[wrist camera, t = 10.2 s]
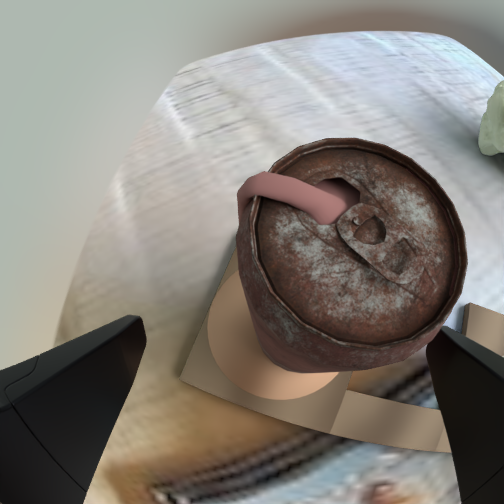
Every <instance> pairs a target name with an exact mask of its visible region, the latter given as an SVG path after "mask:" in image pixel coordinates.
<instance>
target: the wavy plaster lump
mask: <svg viewBox="0 0 504 504" xmlns="http://www.w3.org/2000/svg"><path fill="white" fill-rule="evenodd" d="M478 145H479V148H480V151H481V153H482V154H484V155H489V156H492V155H495V154H497V153H503V152H504V81H501V82H500V83H499V84H498V85H497V86H496V87H495V90H494V93H493V95H492V96H491V97H490V98H489V99H488V102H487V110H486V112H485V113H484V115H483V117H482V121H481V126H480V133H479V140H478Z"/></svg>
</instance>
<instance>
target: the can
mask: <svg viewBox="0 0 504 504" xmlns="http://www.w3.org/2000/svg"><path fill="white" fill-rule="evenodd" d="M237 201H238V216H239V228H238V231H237V235H236V244H237V257H238V270H239V276H240V280H241V284H242V287H243V291H244V294H245V298H246V301H247V305H248V308H249V312H250V315H251V319H252V322H253V326H254V329H255V332H256V336H257V339H258V342H259V344H260V346H261V348H262V350H263V353H264V354H265V355H266V356H267V357H268V358H269V359H270V360H271V361H272V362H273V363H274V364H275V365H277V366H279V367H281V368H283V369H284V370H286V371H290V372H296V373H328V372H345V371H358V370H367V369H372V368H376V367H380V366H384V365H389V364H392V363H396V362H400V361H404V360H405V359H407V358H408V357H410V356H411V355H412V354H414V353H415V352H417V351H418V350H420V349H421V348H422V347H424V346H425V345H426V344H428V343H429V342H431V341H432V340H433V339H434V337H435V336H436V334H437V333H438V332H439V330H440V329H441V327H442V326H443V324H444V323H445V321H446V320H447V318H448V316H449V315H450V313H451V312H452V309H453V307H454V305H455V304H456V302H457V300H458V299H459V297H460V295H461V293H462V289H463V284H464V280H465V275H466V270H467V265H468V259H467V248H466V239H465V232H464V229H463V226H462V224H461V221H460V219H459V216H458V214H457V211H456V209H455V206H454V204H453V202H452V201H451V199H450V198H449V197H448V195H447V194H446V192H445V191H444V190H443V188H442V187H441V186H440V184H439V183H438V182H437V180H436V179H435V178H434V177H433V176H432V175H431V174H429V173H428V172H427V171H426V170H425V169H424V168H422V167H421V166H420V165H419V164H418V163H416V162H415V161H414V160H413V159H412V158H410V157H408V156H406V155H404V154H402V153H400V152H398V151H396V150H394V149H392V148H390V147H388V146H386V145H383V144H379V143H375V142H371V141H367V140H363V139H358V138H326V139H322V140H319V141H315V142H312V143H309V144H305V145H302V146H299V147H297V148H296V149H294V150H293V151H291V152H290V153H288V154H287V155H285V156H284V157H282V158H281V159H279V160H278V161H276V162H275V163H274V164H273V165H272V167H271V168H270V169H269V171H268V172H265V171H264V172H261V173H259V174H257V175H254V176H252V177H249V178H248V179H247V180H246V181H245V183H244V184H243V185H242V186H241V188H240V189H239V190H238V193H237Z"/></svg>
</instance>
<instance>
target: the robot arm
mask: <svg viewBox="0 0 504 504" xmlns="http://www.w3.org/2000/svg"><path fill="white" fill-rule="evenodd" d="M145 347H146V334H145V330H144V325H143V321H142V318H141V317H140V316H135V315H127V316H124V317H122V318H120V319H118V320H115V321H113V322H111V323H109V324H107V325H104V326H102V327H100V328H98V329H95V330H93V331H91V332H89V333H87V334H84V335H82V336H80V337H78V338H75V339H73V340H71V341H69V342H66V343H64V344H62V345H60V346H57V347H55V348H53V349H51V350H49V351H46V352H44V353H42V354H40V355H37V356H35V357H33V358H31V359H28V360H26V361H23V362H21V363H18V364H16V365H13V366H11V367H8V368H5V369H3V370H0V504H83V502H84V500H85V497H86V494H87V493H86V492H87V491H88V489H89V486H90V483H91V481H92V478H93V476H94V473H95V471H96V468H97V466H98V463H99V461H100V458H101V456H102V453H103V451H104V449H105V446H106V444H107V442H108V439H109V437H110V434H111V432H112V430H113V427H114V425H115V423H116V421H117V418H118V416H119V414H120V412H121V409H122V407H123V405H124V403H125V400H126V398H127V396H128V394H129V392H130V389H131V387H132V385H133V382H134V379H135V376H136V373H137V370H138V367H139V364H140V361H141V358H142V355H143V352H144V349H145ZM426 357H427V361H428V365H429V369H430V374H431V378H432V383H433V387H434V391H435V395H436V399H437V402H438V405H439V408H440V412H441V415H442V418H443V422H444V425H445V429H446V433H447V437H448V440H449V444H450V448H451V453H452V457H453V461H454V466H455V471H456V476H457V481H458V486H459V492H460V498H461V502H462V503H461V504H504V357H502V356H500V355H499V354H497V353H495V352H493V351H491V350H490V349H488V348H486V347H484V346H482V345H481V344H479V343H477V342H475V341H473V340H472V339H470V338H468V337H466V336H464V335H462V334H460V333H459V332H457V331H455V330H453V329H451V328H449V327H448V326H442V327H441V329H440V330H439V332H438V333H437V334H436V336H435V337H434V339H433V340H432V341H431V342H429V343H428V345H427V347H426Z"/></svg>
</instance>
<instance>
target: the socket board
mask: <svg viewBox="0 0 504 504" xmlns="http://www.w3.org/2000/svg"><path fill="white" fill-rule="evenodd" d="M461 334H462V335H464V336H466V337H468V338H470V339H472V340H473V341H475V342H477V343H479V344H481V345H482V346H484V347H486V348H488V349H490V350H491V351H493V352H495V353H497V354H499V355H500V356H502V357H504V315H503V314H500V313H497V312H495V311H492V310H489V309H487V308H484V307H481V306H478V305H476V304H473V303H468V304H466V305H465V310H464V318H463V326H462V333H461ZM352 372H353V371H345V372H328V373H296V372H290V371H286V370H284V369H283V368H281V367H279V366H277V365H275V364H274V363H273V362H272V361H271V360H270V359H269V358H268V357H267V356H266V355H265V354H264V353H263V350H262V348H261V346H260V344H259V342H258V339H257V336H256V332H255V329H254V326H253V322H252V319H251V315H250V312H249V308H248V305H247V301H246V298H245V294H244V291H243V287H242V284H241V280H240V276H239V270H238V257H237V246H236V248H235V250H234V253H233V255H232V257H231V259H230V262H229V264H228V266H227V269H226V271H225V273H224V275H223V278H222V280H221V282H220V284H219V287H218V289H217V291H216V294H215V296H214V298H213V301H212V303H211V305H210V307H209V310H208V312H207V314H206V317H205V319H204V321H203V324H202V326H201V328H200V331H199V333H198V335H197V338H196V340H195V342H194V345H193V347H192V349H191V352H190V354H189V357H188V359H187V361H186V364H185V366H184V368H183V371H182V373H181V375H180V378H179V380H182V381H184V382H186V383H188V384H190V385H192V386H195V387H197V388H199V389H201V390H204V391H206V392H208V393H210V394H213V395H215V396H218V397H220V398H222V399H225V400H227V401H230V402H232V403H235V404H238V405H240V406H243V407H246V408H248V409H251V410H254V411H256V412H259V413H262V414H265V415H268V416H271V417H274V418H277V419H280V420H283V421H286V422H290V423H293V424H296V425H300V426H303V427H306V428H310V429H314V430H317V431H321V432H325V433H329V434H333V435H337V436H341V437H346V438H350V439H355V440H360V441H365V442H370V443H375V444H381V445H387V446H393V447H400V448H407V449H415V450H424V451H435V452H449V453H451V448H450V444H449V440H448V437H447V433H446V429H445V425H444V422H443V418H442V415H441V412H440V410H436V409H430V408H425V407H420V406H414V405H409V404H405V403H400V402H395V401H391V400H386V399H382V398H378V397H374V396H369V395H365V394H361V393H358V392H354V391H350V390H347V387H348V384H349V381H350V378H351V375H352Z"/></svg>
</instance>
